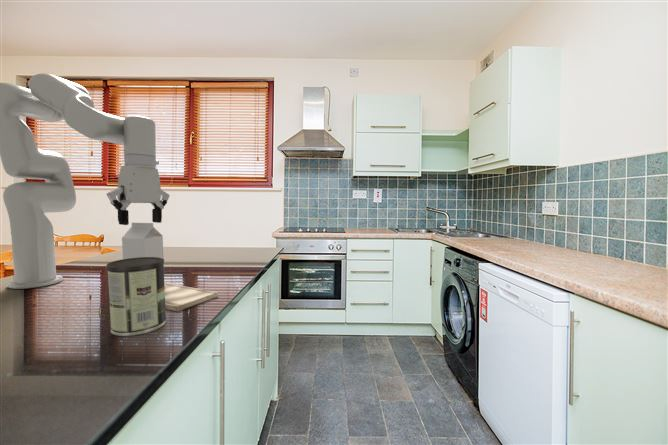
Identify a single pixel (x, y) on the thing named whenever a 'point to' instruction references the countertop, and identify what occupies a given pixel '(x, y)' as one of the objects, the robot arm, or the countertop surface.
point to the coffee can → (136, 295)
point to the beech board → (185, 296)
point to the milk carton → (142, 242)
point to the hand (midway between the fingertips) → (141, 223)
